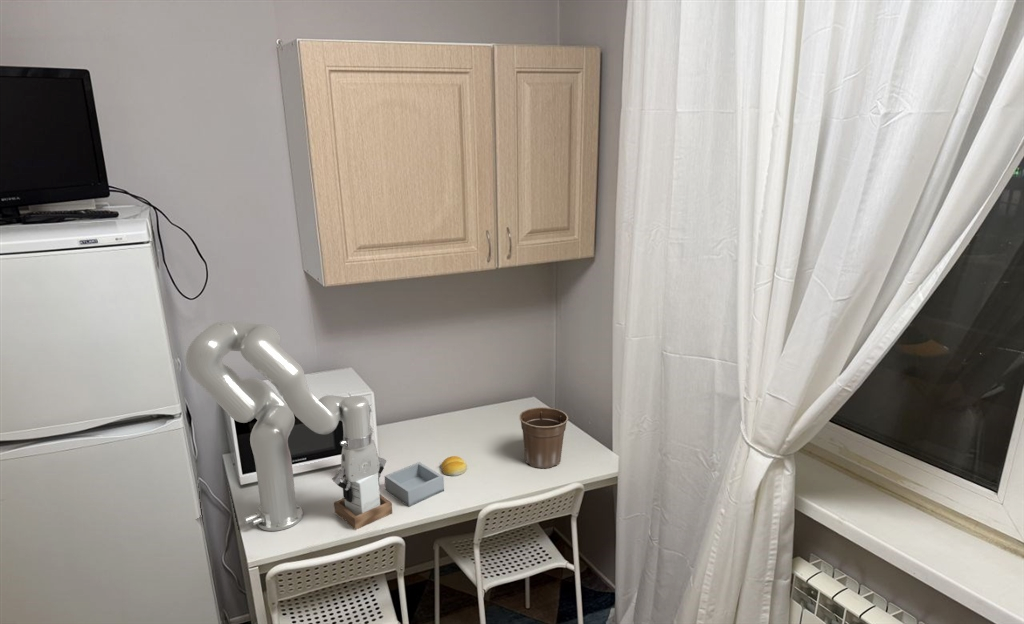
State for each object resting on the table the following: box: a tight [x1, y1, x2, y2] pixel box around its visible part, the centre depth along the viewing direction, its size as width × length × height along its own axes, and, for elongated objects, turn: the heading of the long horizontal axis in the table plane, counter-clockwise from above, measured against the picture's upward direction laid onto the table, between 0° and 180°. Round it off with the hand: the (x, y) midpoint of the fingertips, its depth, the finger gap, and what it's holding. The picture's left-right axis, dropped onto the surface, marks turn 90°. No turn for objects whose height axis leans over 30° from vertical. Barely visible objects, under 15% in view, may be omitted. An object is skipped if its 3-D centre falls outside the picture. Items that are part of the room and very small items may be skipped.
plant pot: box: [518, 406, 569, 469], centre depth 215 cm, size 16×16×16 cm
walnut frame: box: [333, 493, 393, 531], centre depth 187 cm, size 12×12×4 cm
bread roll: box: [440, 455, 468, 477], centre depth 211 cm, size 8×9×4 cm
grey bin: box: [384, 461, 445, 508], centre depth 198 cm, size 13×13×5 cm
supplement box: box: [342, 473, 381, 516], centre depth 185 cm, size 7×7×13 cm
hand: (362, 494), depth 185 cm, fingers closed on supplement box, 8 cm apart
